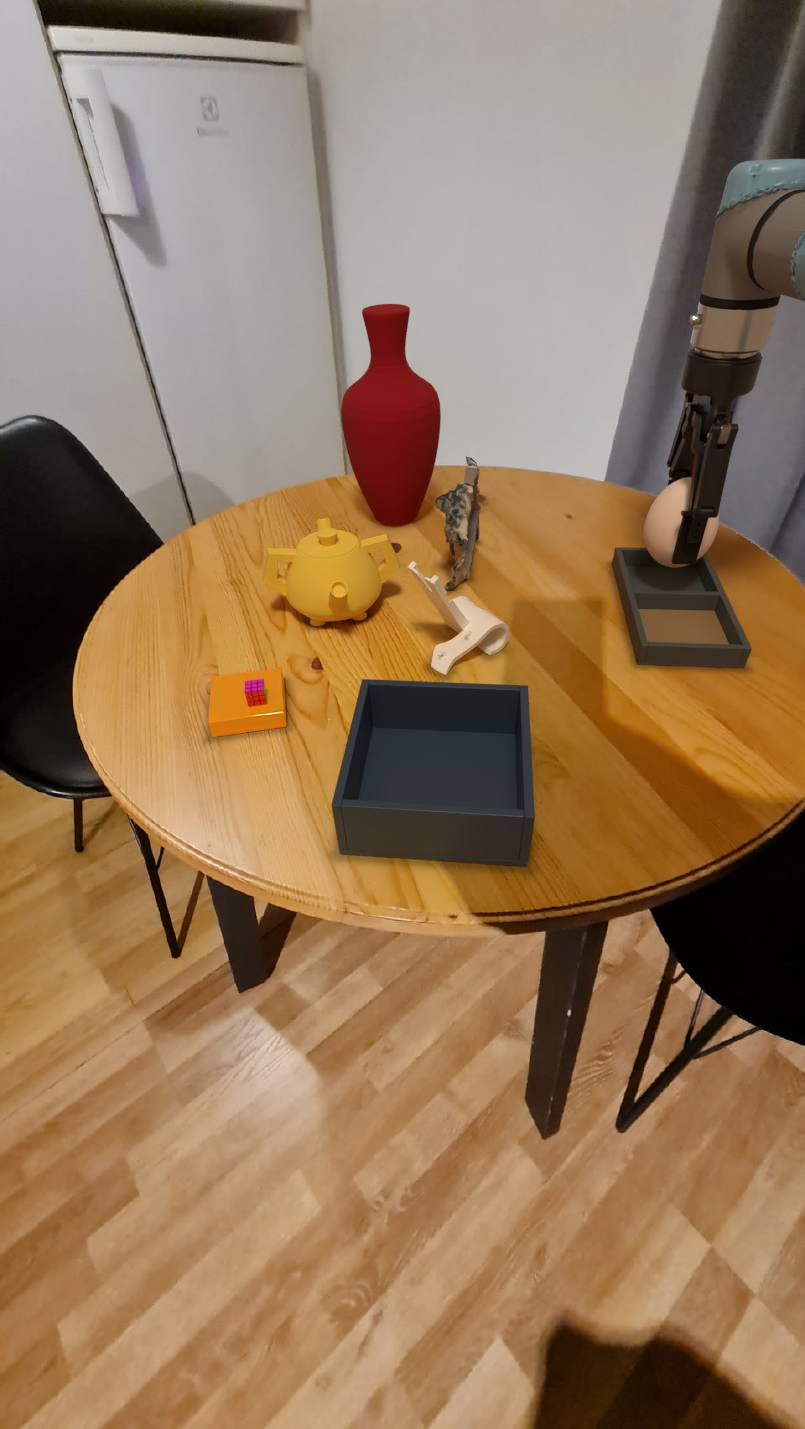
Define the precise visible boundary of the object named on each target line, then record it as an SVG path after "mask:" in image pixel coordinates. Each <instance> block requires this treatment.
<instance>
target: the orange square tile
mask: <svg viewBox="0 0 805 1429" xmlns="http://www.w3.org/2000/svg"><path fill="white" fill-rule="evenodd" d="M210 680H211V681H210V692H209V693H210V694H209V705H208V706H209V707H208V715H207V716H208V718H207V723H208V727H209V730H210V733H211V736H212V737H213V738H219V737H224V736H230V735H231V736H232V735H238V734H239V735H240V734H246V733H252V732H253V733H254V732H259V731H260V732H261V731H267V730H273V729H281V728H286V727H287V724H288V723H287V706H286V686H285V678H284V674H283V670H282V667H274V668H266V669H259V670H251V671H243V672H235V673H229V674H221V675H214V676H212V675H211V678H210Z"/></svg>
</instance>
